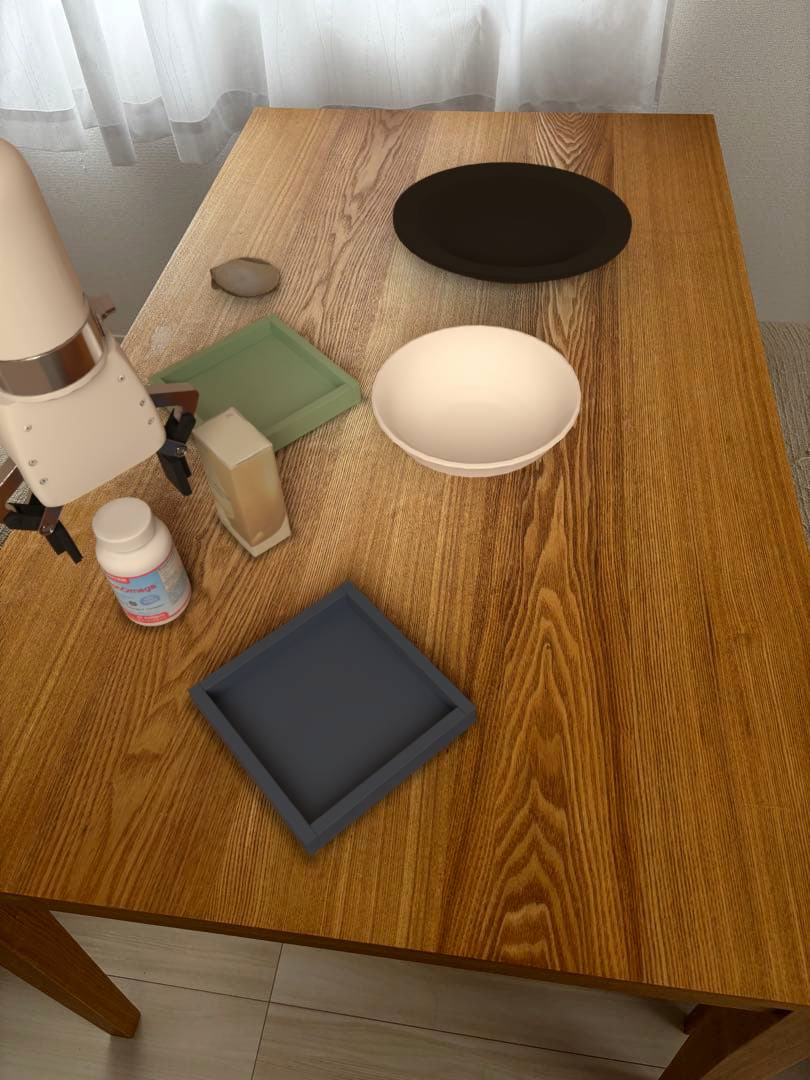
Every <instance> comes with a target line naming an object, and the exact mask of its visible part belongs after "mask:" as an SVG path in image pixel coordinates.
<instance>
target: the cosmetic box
mask: <svg viewBox="0 0 810 1080" xmlns="http://www.w3.org/2000/svg"><path fill="white" fill-rule="evenodd" d="M192 433H193V434H192ZM192 433H191V434H192V436H193V438H194V442H195V445H196V447H197V448H196V449H197V451H198V454H199V457H200V460H201V464H202V467H203V471H204V473H205V476H206V477H205V478H206V479H207V483H208V486H209V489H210V492H211V496H212V499H213V503H214V505H215V509H216V511H217V515H218V518H219V521H220V522H221V523H222V525H223V526H224V527H225V528H226V529H227V530H228V531H229V533H231V535H232V536H233V537H234V538H235V539H236V540H237V541H238V542H239V544H240V545H241V546H243V547H244V548H245V549H246V551H248V553H249V554H251V556H253V557H254V558H257V557H258V556H260V555H261V554H263V553H264V552H266V551H269V550H270V549H272V548H273V547H274V546H276V545H278V544H279V543H281V542H283V541H284V540H285V539H287V538H289V537H290V536H292V530H291V525H290V521H289V516H288V512H287V506H286V502H285V497H284V493H283V488H282V483H281V478H280V473H279V469H278V464H277V460H276V455H275V452H274V450H273V445H272V443H271V442H270V441H269V440H268V439H267V438H265V437H264V436H263V435H262V434H261V433H260V432H259V431H258V430H257V429H256V428H255V427H254V426H253V425H252V424H251V423H250V422H249V421H247V420H246V419H245V418H244V417H243V416H242V415H241V414H240V413H239V412H238V411H237V410H236V409H235V408H234V407H231V408H229V409H227V410H225V411H223V412H222V413H220V414H218V415H216V416H214V417H213V418H211V419H209V420H207V421H205V422H204V423H202V424H200V425H199V426H197V427H195V428H193V430H192Z"/></svg>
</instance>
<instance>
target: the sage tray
mask: <svg viewBox="0 0 810 1080" xmlns="http://www.w3.org/2000/svg"><path fill="white" fill-rule="evenodd" d="M147 380H148V383H149V385H156V384H168V383H181V382H189V383H190V384H191V385H192V386H193V387H194V388H196V389H197V390H198V391H199V400H198V405H197V410H196V412H195V415H194V418H195V419H196V424H195V426H194V428H195V427H197V426H199V425H200V424H202V423H204V422H205V421H207V420H209V419H211V418H213V417H214V416H216V415H218V414H220V413H222V412H223V411H225V410H227V409H229V408H231V407H234V408H235V409H236V410H237V411H238V412H239V413H240V414H241V415H242V416H243V417H244V418H245V419H246V420H247V421H249V422H250V423H251V424H252V425H253V426H254V427H255V428H256V429H257V430H258V431H259V432H260V433H261V434H262V435H263V436H264V437H265V438H267V439H268V440H269V441H270V442H271V443H272V445H273V450H274V453H276V452H278V451H280V450H282V449H283V448H284V447H286V446H288V445H290V444H291V443H293V442H295V441H296V440H298V439H300V438H302V437H303V436H305V435H306V434H308V433H310V432H312V431H313V430H315V429H316V428H318V427H320V426H321V425H323V424H325V423H327V422H328V421H330V420H332V419H333V418H336V417H337V416H339V415H341V414H342V413H344V412H345V411H347V410H348V409H351V408H352V407H354V406H355V405H358V404H359V403H360V402H362V401H363V400H362V394H361V392H362V391H361V383H360V382H359V381H358V380H356V379H355V378H354V377H353V376H351V375H350V374H349V373H347V372H346V370H344V369H343V368H341V367H340V366H339V365H338V364H336V363H335V362H334V361H333V360H331V359H330V358H329V357H328V356H326V354H324V353H323V352H322V351H320V350H319V349H318V348H317V347H315V346H314V345H313V344H312V343H310V342H309V341H308V340H307V339H305V338H304V337H303V336H302V335H300V334H299V333H298V332H297V331H296V330H294V329H293V328H292V327H291V326H289V325H288V324H287V323H286V322H285V321H283V320H282V319H281V318H279V317H278V315H275V314H274V313H273V312H271V313H269V314H267V315H265V316H263V317H261V318H259V319H258V320H255V321H254V322H252V323H249V324H247V325H246V326H244V327H242V328H240V329H238V330H236V331H234V332H233V333H231V334H228V335H227V336H225V337H223V338H221V339H219V340H217V341H215V342H213V343H211V344H209V345H207V346H206V347H204V348H201V349H199V350H198V351H196V352H194V353H191V354H190V355H187V356H186V357H184V358H182V359H181V360H179V361H177V362H175V363H172V364H171V365H169V366H167V367H165V368H163V369H161V370H159V371H157V372H155V373H153V374H152V375H149V376H147ZM165 408H166V409H167V410H168V411H169V412H170V413H171V412H172V410H173V409H174V408H175V406H168V407H165ZM191 434H192V435H193V433H192V432H191Z"/></svg>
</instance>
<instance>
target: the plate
mask: <svg viewBox="0 0 810 1080" xmlns="http://www.w3.org/2000/svg"><path fill="white" fill-rule="evenodd" d="M392 225H393V230H394V233H395V235H396V237H397V239H398V240H399V241H400V242H401V244H402V245H403V246H404V247H405V248H406V250H408V251H409V252H410V253H411V254H413V255H414V256H416V257H417V258H418V259H420V260H422V261H423V262H426V263H427V264H429V265H431V266H433V267H436V268H438V269H440V270H444V271H446V272H449V273H452V274H456V275H459V276H462V277H466V278H470V279H473V280H478V281H483V282H488V283H496V284H507V285H510V284H511V285H525V284H526V285H528V284H537V283H546V282H553V281H559V280H563V279H569V278H574V277H576V276H581V275H583V274H587V273H589V272H591V271H594V270H596V269H599V268H601V267H602V266H604V265H606V264H608V263H609V262H611V261H612V260H614V259H615V258H616V257H617V256H618V255H620V254H621V252H623V250H624V249H625V248H626V246H627V245H628V243H629V240H630V238H631V234H632V228H633V219H632V214H631V213H630V209H629V208H628V206H627V204H626V203H625V201H623V200H622V198H621V197H619V195H618V194H616V193H615V192H614V191H612V190H611V189H610V188H608V187H607V186H605V185H603V184H602V183H601V182H598V181H596V180H594V179H592V178H590V177H587V176H586V175H583V174H579V173H577V172H574V171H571V170H567V169H563V168H560V167H556V166H550V165H546V164H545V165H544V164H537V163H529V162H516V161H492V162H478V163H471V164H465V165H459V166H455V167H451V168H447V169H443V170H440V171H437V172H434V173H432V174H430V175H426V176H425V177H423V178H421V179H419V180H417V181H415V182H414V183H413V184H411V185H410V186H409V187H407V188H406V189H405V190H404V191H403V192H401V194H400V195H399V197H398V198H397V199H396V201H395V204H394V205H393V209H392Z"/></svg>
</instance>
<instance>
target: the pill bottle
mask: <svg viewBox="0 0 810 1080" xmlns="http://www.w3.org/2000/svg"><path fill="white" fill-rule="evenodd" d="M91 529H92V532H93V534H94V536H95V540H96V541H95V548H94V549H95V550H94V551H95V558H96V560H97V562H98V564H99V566H100V569H101V570H102V572H103V574H104V576H105V578H106V580H107V581H108V584H109V585H110V588H111V589H112V591H113V593H114V595H115V596H116V599H117V600H118V603H119V604H120V606H121V608H122V611H123V612H124V613H125V615H126V616H127V618H128V619H129V620H131V621H132V622H133V623H136V624H138V625H141V626H144V627H145V626H146V627H157V626H163V625H166V624H167V623H170V622H172V621H175V619H177V618H178V617H180V616H181V614H182V613H184V611H185V609H186V608H188V607H187V606H188V605H189V602H190V600H191V597H192V585H191V582H190V579H189V576H188V574H187V572H186V569H185V567H184V564H183V561H182V559H181V557H180V554H179V552H178V549H177V547H176V544H175V542H174V539H173V536H172V534H171V532H170V529H169V528H168V526H167V525H166V524H165V522H164V521H163V520H161V519H160V518H158V517H157V516H155V514H154V513H153V511H152V509H151V508H150V506H149V505H148V504H147V502H146V501H144V500H143V499H140V498H139V497H133V496H124V497H118V498H115V499H112V500H110V501H108V502H106V503H104V504H103V505H102V506H100V508H99V509H98V510H97V511H96V512H95V514H93V518H92V520H91Z"/></svg>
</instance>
